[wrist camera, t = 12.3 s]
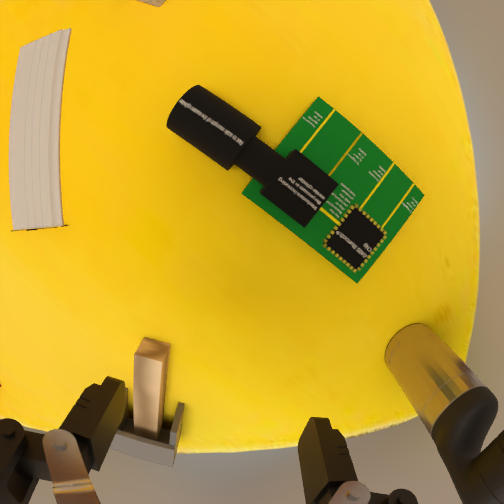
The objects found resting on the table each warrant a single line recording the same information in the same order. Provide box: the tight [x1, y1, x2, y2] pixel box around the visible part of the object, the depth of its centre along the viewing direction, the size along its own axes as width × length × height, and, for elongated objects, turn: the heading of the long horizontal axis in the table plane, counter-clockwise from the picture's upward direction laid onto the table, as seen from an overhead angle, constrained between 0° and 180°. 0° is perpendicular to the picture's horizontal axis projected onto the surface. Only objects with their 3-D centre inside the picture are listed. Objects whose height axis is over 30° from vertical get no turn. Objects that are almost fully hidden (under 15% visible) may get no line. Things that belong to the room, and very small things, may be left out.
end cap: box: [110, 388, 184, 467], centre depth 42 cm, size 11×9×8 cm
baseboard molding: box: [9, 28, 71, 231], centre depth 33 cm, size 31×3×12 cm
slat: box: [134, 337, 170, 441], centre depth 42 cm, size 4×18×5 cm, turn 167°
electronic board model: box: [167, 85, 424, 283], centre depth 32 cm, size 30×7×15 cm
